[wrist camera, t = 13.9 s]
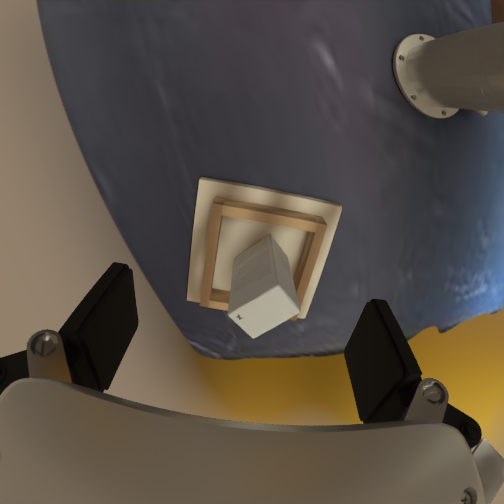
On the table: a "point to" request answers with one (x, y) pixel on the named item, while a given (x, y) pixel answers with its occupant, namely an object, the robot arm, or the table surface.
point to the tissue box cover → (497, 10)
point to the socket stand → (256, 237)
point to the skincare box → (262, 288)
